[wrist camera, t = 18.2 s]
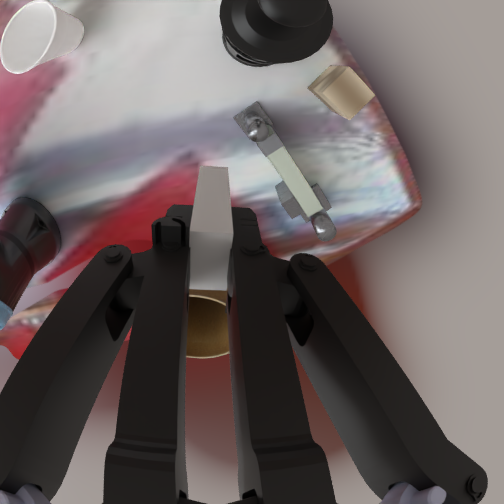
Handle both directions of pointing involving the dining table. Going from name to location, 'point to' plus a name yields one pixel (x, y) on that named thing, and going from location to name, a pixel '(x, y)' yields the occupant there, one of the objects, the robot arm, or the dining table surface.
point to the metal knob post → (293, 208)
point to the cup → (38, 36)
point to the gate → (289, 172)
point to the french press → (274, 29)
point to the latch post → (254, 122)
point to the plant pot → (207, 324)
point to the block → (341, 91)
